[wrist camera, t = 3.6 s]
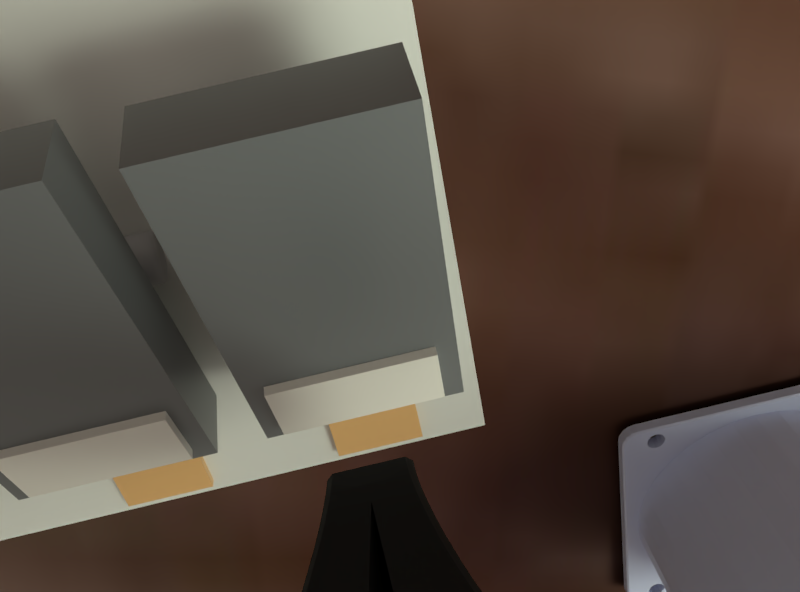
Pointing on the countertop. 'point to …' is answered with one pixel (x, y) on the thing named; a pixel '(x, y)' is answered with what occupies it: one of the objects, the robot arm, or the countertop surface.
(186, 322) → the switch unit
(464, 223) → the countertop surface
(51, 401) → the rocker middle
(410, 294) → the panel
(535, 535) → the countertop surface
